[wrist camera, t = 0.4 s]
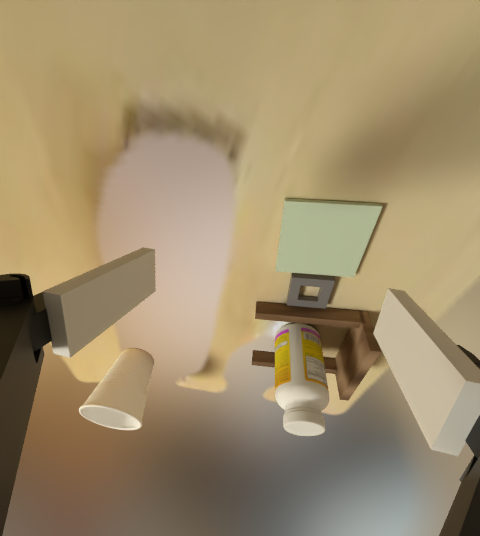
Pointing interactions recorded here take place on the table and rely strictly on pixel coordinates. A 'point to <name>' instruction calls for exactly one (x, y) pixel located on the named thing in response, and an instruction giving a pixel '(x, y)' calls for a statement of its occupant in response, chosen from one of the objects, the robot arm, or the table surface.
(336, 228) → the mat
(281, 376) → the supplement bottle
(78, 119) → the table surface
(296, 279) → the hole frame
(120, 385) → the cup
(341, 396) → the cubby
